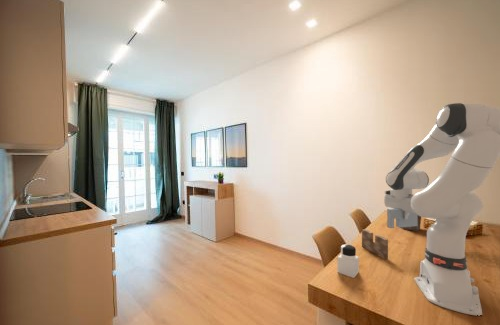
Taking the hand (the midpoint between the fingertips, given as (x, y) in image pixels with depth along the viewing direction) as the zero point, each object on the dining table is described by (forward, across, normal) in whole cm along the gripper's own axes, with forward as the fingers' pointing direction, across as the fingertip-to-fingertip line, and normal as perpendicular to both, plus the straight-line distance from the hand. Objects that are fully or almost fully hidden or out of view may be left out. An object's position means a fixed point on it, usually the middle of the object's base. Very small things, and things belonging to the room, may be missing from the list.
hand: (402, 218), depth 115 cm
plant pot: (+18, +32, -41) cm, 55 cm away
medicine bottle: (+19, -11, +43) cm, 48 cm away
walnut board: (+19, +4, +15) cm, 24 cm away
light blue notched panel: (+5, 0, 0) cm, 5 cm away
